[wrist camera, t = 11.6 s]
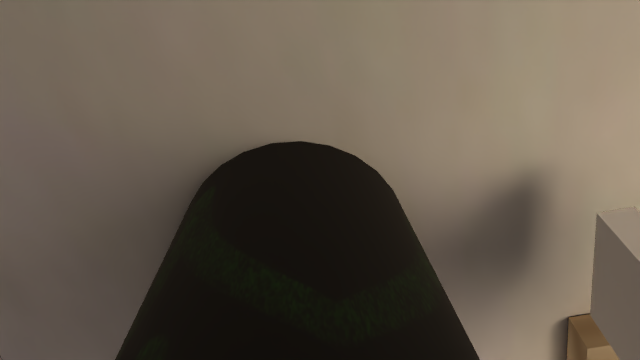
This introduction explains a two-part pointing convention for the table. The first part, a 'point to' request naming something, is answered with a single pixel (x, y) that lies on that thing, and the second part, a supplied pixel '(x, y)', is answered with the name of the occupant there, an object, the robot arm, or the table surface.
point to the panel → (587, 340)
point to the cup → (296, 269)
